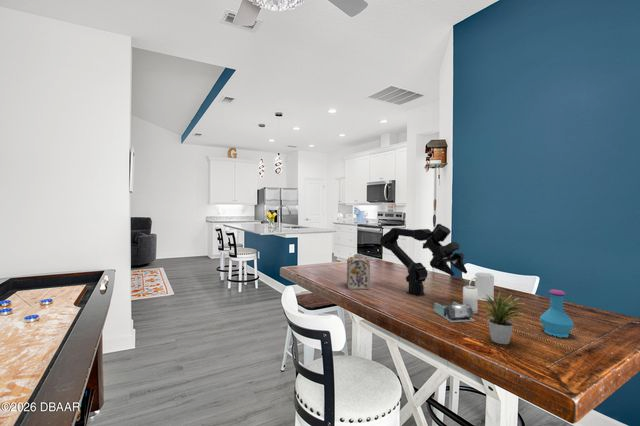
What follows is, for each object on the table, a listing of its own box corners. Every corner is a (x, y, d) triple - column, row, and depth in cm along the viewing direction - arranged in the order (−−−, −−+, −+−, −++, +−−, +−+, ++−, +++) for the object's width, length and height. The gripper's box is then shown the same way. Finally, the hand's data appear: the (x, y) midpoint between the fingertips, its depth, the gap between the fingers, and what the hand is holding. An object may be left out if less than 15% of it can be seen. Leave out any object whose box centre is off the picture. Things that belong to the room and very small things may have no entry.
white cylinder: (460, 311, 126) (460, 286, 126) (465, 308, 130) (466, 284, 130) (474, 314, 122) (475, 289, 121) (479, 311, 125) (480, 287, 125)
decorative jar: (370, 289, 158) (370, 256, 158) (348, 289, 158) (348, 255, 158) (366, 284, 170) (367, 252, 170) (346, 283, 170) (347, 252, 170)
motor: (432, 310, 126) (433, 297, 126) (453, 309, 128) (453, 296, 128) (451, 322, 113) (452, 307, 113) (474, 321, 115) (474, 306, 114)
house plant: (505, 355, 87) (506, 300, 87) (465, 337, 100) (466, 288, 100) (535, 347, 93) (536, 295, 93) (494, 330, 106) (495, 284, 106)
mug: (472, 300, 140) (472, 275, 140) (464, 295, 149) (464, 271, 149) (497, 301, 140) (498, 276, 140) (488, 296, 148) (488, 272, 148)
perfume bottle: (575, 341, 98) (577, 296, 97) (541, 335, 102) (542, 291, 102) (570, 332, 105) (571, 289, 105) (538, 326, 110) (539, 286, 110)
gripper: (433, 237, 132) (458, 263, 121) (458, 235, 141) (483, 259, 131) (420, 254, 138) (442, 281, 127) (445, 252, 147) (468, 276, 137)
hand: (460, 274), depth 131 cm, fingers open, 9 cm apart
